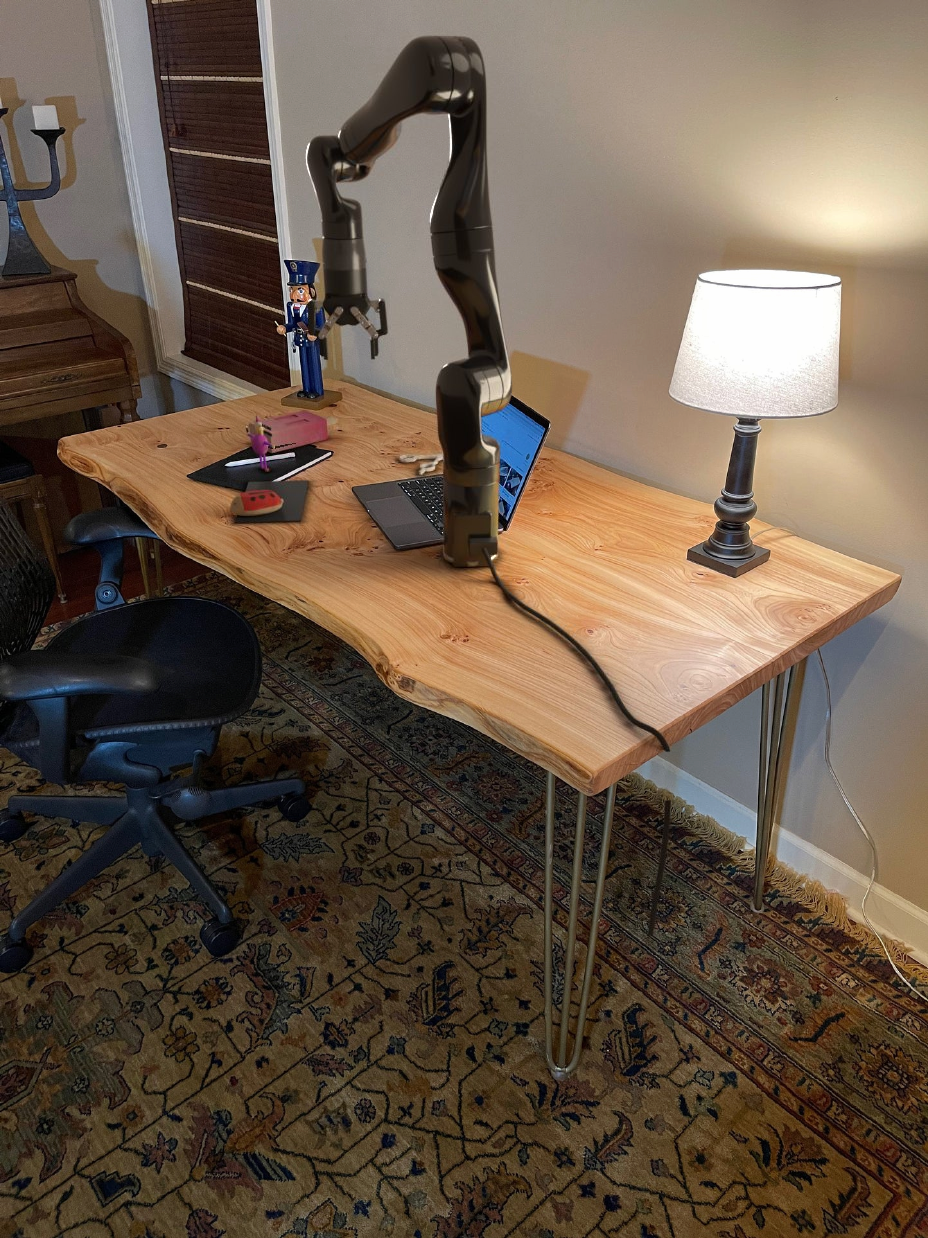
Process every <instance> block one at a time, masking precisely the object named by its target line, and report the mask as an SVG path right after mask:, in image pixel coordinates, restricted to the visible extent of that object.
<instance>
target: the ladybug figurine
mask: <svg viewBox="0 0 928 1238" xmlns="http://www.w3.org/2000/svg"><path fill="white" fill-rule="evenodd" d="M282 503H283V499H280V497H279V496H278V495H277V494H276V493H275V492H273V491H270V490H254V491H248V492H245V491H244V492H241V493H238V494H237V495H236V496H234V498H233V499H232V501H231V503H230V509H229V510H230V512H231V513H232V514H233V515H235V516H237V515H239V516H257V515H263V514H268V513H271V512H274V511H276V510H278V509H280V508H281V507H282Z"/></svg>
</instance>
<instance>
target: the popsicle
mask: <svg viewBox="0 0 928 1238" xmlns="http://www.w3.org/2000/svg"><path fill="white" fill-rule="evenodd" d="M259 421H260V422H261V424H263V426H264V425H266V426H268V427H271V431H270V430H268V429H264V430H265V431H267V432H270V433H271V434H272V437H271V436H269V435H267V434H265V433H263V435H264V436H265V437H266V438H267V440H268V443H270V444H272V445H275V446H280V445H285V444H292V443H296V444H292V445H288V446H284V447H280V448H276V449H270V448H268V451H267V453H269V454H275V453H279V452H283V451H287V450H291V449H294V448H299V447H303V446H306V445H310V444H315V443H319V442H322V441H327V440H328V439H329V434H328V433H329V431H328V426H330V425H334V424H339V420H338V418H337V417H334V416H331V417H327V418H325V417H322V416H320V415H318V414H315V413H314V412H311V411H308V410H306V409H305V410H300V411H296V412H290V413H287V414H281V415H278V416H273V417H269V418H264V419H259ZM248 431H249V434H251V435H255V434H257V432H256V430H255V425H254V421H250V422H249V423H248ZM249 438H250V443H251V444H252V437H250V436H249Z"/></svg>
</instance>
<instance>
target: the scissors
mask: <svg viewBox="0 0 928 1238" xmlns="http://www.w3.org/2000/svg"><path fill="white" fill-rule="evenodd" d="M424 459H426V460H427V459H429V460H433V461H430V462H422V463H420V465H419V470H418V475H420V476H421V475H423V474H425V472H432V471H435V469H436V465H438V464H439V462H441V461H443V452H442V453H441V452H440V453H436V454H435V453H434V454H420V455H418V454H416V455H415V454H402V455H399V457H398V460H399V462H401V463H414V462H415V461H417V460H424Z"/></svg>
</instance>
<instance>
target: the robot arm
mask: <svg viewBox="0 0 928 1238" xmlns="http://www.w3.org/2000/svg"><path fill="white" fill-rule="evenodd" d="M487 88H488V87H487V73H486V67H485V60H484V57H483V52H482V51H481V49H480V46H479V45H478V44H477V42H476V41H475V40H474V39H472V38H471V37H469V36H463V35H422V36H418V37H415V38H412V39H411V40H410V41H409V42H408V43H407V44H406V45H405V46H404V47H403V49H402V50H401V51H400V52H399V53H398V55H397V57H396V58H395V60H394V61H393V63H392V64H391V66H390V68H389V69H388V71H387V73H386V74H385V75H384V77H383V78H382V80H381V82H379V84H378V86H377V88H376V89H375V90H374V92H373V94H372V95H371V96H370V98H369V99H368V100H367V101H366V102H365V103H364V104H363V105H362V106H361V107H359V109H357V110H356V111H355V112H354V113H353V114H352V115H351V116H350V117H348V119H346V120H345V122H344V123H343V124H342V126H341V127H340V130H339V133H338V134H333V135H331V134H329V135H326V134H324V135H317V136H316V135H315V136H314V137H313V138H311V140H310V141H309V143H308V145H307V149H306V153H305V159H306V160H305V161H306V168H307V171H308V174H309V178H310V180H311V184H312V185H313V189H314V192H315V197H316V200H317V203H318V207H319V211H320V218H321V219H320V220H321V235H322V242H321V243H322V245H321V256H322V271H323V286H324V298H323V300H316V299H314V298H309V300H308V301H307V334H308V335H309V336H311V337H312V336H313V337H316V338H317V339H318V346H319V348H318V349H319V356H320V357H322V358H323V360H324V361H328V360H329V345H328V344H329V343H328V342H329V341H328V337H327V335H328V334H329V332H330V331H331V330H332V329H333V327H334V325H335V324H336V325H338V326H339V327H344V326H348V325H349V326H352V327H353V326H358V325H359V324H360V325H361V326H362V327H363V329H364V330H365V331H366V332H367V333H368V334H369V335H370V337H369V344H370V360H376V357H378V356H379V351H380V350H379V338H380V337H382V336H387V335H388V333H389V328H388V327H389V326H388V325H389V324H388V317H387V305H386V300H385V298H382V297H381V298H379V299H372V300H371V299H370V298H369V295H368V294H369V293H368V279H367V278H368V274H367V273H368V272H367V262H368V261H367V254H366V253H367V252H366V246H365V240H364V220H363V219H364V218H363V207H362V205H361V202H359V201H358V200H357V199H354V198H350V197H345V196H342V195H341V193H340V191H339V189H338V187H337V186H338V185H337V184H343V183H344V184H345V183H357V182H361V181H363V180H365V179H366V178H368V177H369V176H370V174H371V172H372V170H373V169H374V168H373V167H374V165H375V164H376V163H377V160H378V159H380V157H382V156H384V155H385V154H386V153H387V152H389V151H390V150H391V149H392V148H393V147H394V146H395V145H396V144H397V142H398V140H399V139H400V136H401V133H402V129H403V121H405V120H407V119H409V118H411V117H414V116H417V115H422V114H423V115H428V116H436V115H447V116H448V120H449V122H448V123H449V137H450V138H449V155H448V160H447V164H446V168H445V171H444V174H443V177H442V180H441V182H440V184H439V187H438V190H437V193H436V195H435V198H434V201H433V204H432V207H431V212H430V215H429V233H430V244H431V252H432V259H433V265H434V270H435V272H436V275H437V277H438V279H439V281H440V283H441V286H442V287H443V288H444V290H445V292H446V294H447V295H448V297H449V298H450V300H451V301H452V303H453V304H454V307H455V308H456V310H457V311H458V313H459V315H460V317H461V320H462V323H463V326H464V327H463V328H464V331H465V336H466V345H467V357H466V358H461V359H458V360H453V361H451V362H448V363H446V364H445V365H444V366H442V367H441V369H440V371H439V373H438V376H437V378H436V383H435V408H436V409H435V410H436V425H437V436H438V441H439V445H440V447H441V451H442V453H443V459H442V513H443V515H442V527H443V528H442V534H443V535H442V538H443V542H442V543H443V547H442V557H443V558H444V560H445V561H447V562H448V563H451V564H452V565H453V567H454V568H472V567H473V568H474V567H488V568H489V571H490V572H491V575H492V578H493V579H494V581H495V583H496V584H497V585H498V586H499V588H500V589H501V590H502V592H503V593H504V594H505V596H506V597H508V599H510V600H511V601H513V602H514V603H515V604H516V605H517V606H518V607H520V608H521V609H523V610H524V611H525V612H526V613H527V612H528V613H529V614H531V615H532V616H534V617H535V618H537V619H539V620H540V621H543V622H544V623H545V624H546V625H548V626H549V627H551V629H553V630H555V631H556V633H559V635H561V636H562V637H563V638H565V639H566V640H567V641H568V642H570V643H571V645H573V646H574V647H575V648H576V649H577V650H578V651H579V652H580V653H581V655H583V656H584V657H585V658H586V660H587V661H588V662H589V663H590V664H591V666H592V668H594V670H595V671H596V673H597V674H598V675H599V677H600V678H601V680H602V681H603V682H604V684H605V685H606V687H607V688H608V690H609V693H610V694H611V696H612V698H613V700H614V702H615V703H616V705H617V707H618V708H619V710H620V712H621V713H622V714H623V715H624V717H625V718H626V719H627V720H628V721H629V722H630V723H631V724H632V725H634V726H635V727H637V728H640V729H641V730H643V731H646V732H648V733H650V734H651V735H653V736H654V737H655V738H656V740H658V742H659V743H660V745H661V747H662V749H663V751H664V752H667V753H670V752H671V749H670V746H669V744H668V741H667V740H666V738H665V737H664V735H663V734H662V733H661V732H660V731H659V730H657V729H656V728H654V727H653V726H651V725H649V724H646V723H645V722H642V721H640V720H639V719H637V718H635V717H634V716H633V715H632V713H630V711H629V710H628V708H627V707H626V706H625V705H624V703H623V701H622V699H621V697H620V695H619V694H618V691H617V689H616V688H615V686H614V685H613V683H612V681H611V680H610V679H609V678H608V676H607V675H606V673H605V672H604V671H603V669H602V668H601V666H600V665H599V663H598V662H597V660H596V659H594V657H593V656H592V655H591V653H589V652H588V650H587V649H585V647H584V646H582V644H580V643H579V642H578V641H577V640H576V639H575V638H574V637H573V636H571V635H570V634H569V633H568V632H566V631H565V630H564V629H563V628H561V627H560V626H559V625H558V624H556V623H555V622H553V621H552V620H550V619H549V617H547V616H545V615H543V614H542V613H539V612H538V611H537V610H534V609H533V608H532V607H530V606H529V605H526V603H524V602H522V601H521V600H520V599H519V598H518V597H516V596H515V595H514V594H512V593H511V592H510V591H509V590H508V589H507V588H506V587H505V585H504V584H503V582H502V581H501V578H500V577H499V575H498V572H497V570H496V568H495V566H494V562H495V561H496V560H497V559H498V557H499V512H500V511H499V507H500V504H499V503H500V475H501V474H500V472H501V445H500V442H499V441H498V440H497V439H496V438H494V437H492V436H490V435H486V434H483V431H482V430H483V429H482V418H485V417H487V416H490V415H493V414H497V413H499V412H501V411H503V410H504V409H505V408H507V406H508V405H509V403H510V401H511V398H512V393H513V375H512V368H511V362H510V357H509V356H510V355H509V351H508V346H507V341H506V336H505V330H504V325H503V318H502V309H501V301H500V293H499V284H498V283H499V282H498V273H497V261H496V259H497V258H496V245H495V233H494V232H495V231H494V222H493V214H492V213H493V212H492V207H491V206H492V205H491V195H490V194H491V193H490V180H489V165H488V91H487V90H488V89H487ZM321 308H322V309H323V310H324V311H325V312H326V313H327V315H328V317H327V319H326V320H325V322H324V324H323V325H322V327H321V328H319V327H317V326H316V325H317V323H316V314H319V312H320V309H321ZM371 308H373V309H374V312H375V313H377V314H379V325H380V327H377V328H376V327H375V325H374V324H373V323H372V321H371V320H370V318H369V317H368V316H367V314H368V312H369V310H370V309H371ZM671 807H672V800H670V799H666V800H664V814H663V829H662V839H661V846H660V855H659V861H658V866H657V867H658V868H657V873H656V879H655V884H654V890H653V897H652V902H651V907H650V914H649V920H648V927H647V935H648V936H649V937H652V936H653V935H654V930H655V924H656V917H657V911H658V904H659V899H660V892H661V887H662V884H663V883H662V882H663V877H664V871H665V867H666V859H667V854H668V853H667V851H668V845H669V836H670V824H671Z"/></svg>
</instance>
